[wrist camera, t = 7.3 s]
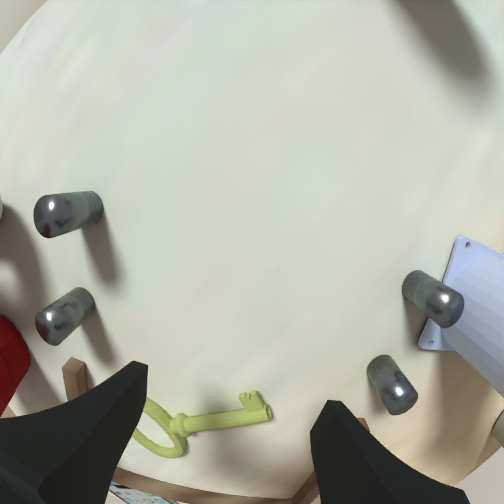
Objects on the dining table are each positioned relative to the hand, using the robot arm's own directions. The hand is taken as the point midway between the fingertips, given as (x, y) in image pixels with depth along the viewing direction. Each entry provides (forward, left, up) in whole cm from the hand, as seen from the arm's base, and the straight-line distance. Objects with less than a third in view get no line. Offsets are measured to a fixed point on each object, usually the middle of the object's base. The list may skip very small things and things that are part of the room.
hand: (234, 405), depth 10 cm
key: (+2, +9, -7) cm, 11 cm away
